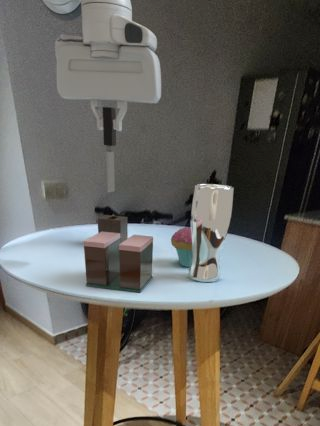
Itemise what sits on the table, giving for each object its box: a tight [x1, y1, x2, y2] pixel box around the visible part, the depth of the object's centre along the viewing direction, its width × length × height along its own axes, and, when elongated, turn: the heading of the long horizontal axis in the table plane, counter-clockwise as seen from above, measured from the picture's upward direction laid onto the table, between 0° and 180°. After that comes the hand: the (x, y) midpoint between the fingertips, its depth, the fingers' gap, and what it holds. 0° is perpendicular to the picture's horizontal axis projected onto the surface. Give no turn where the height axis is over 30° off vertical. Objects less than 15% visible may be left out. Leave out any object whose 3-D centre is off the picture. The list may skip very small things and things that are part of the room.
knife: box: [102, 106, 117, 193], centre depth 76 cm, size 2×3×14 cm, turn 167°
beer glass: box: [187, 183, 235, 283], centre depth 65 cm, size 7×7×15 cm
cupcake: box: [170, 226, 192, 268], centre depth 73 cm, size 9×8×12 cm
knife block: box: [97, 214, 129, 243], centre depth 85 cm, size 5×5×6 cm
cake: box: [83, 232, 154, 294], centre depth 63 cm, size 10×9×7 cm
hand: (109, 130), depth 74 cm, fingers closed on knife, 2 cm apart
